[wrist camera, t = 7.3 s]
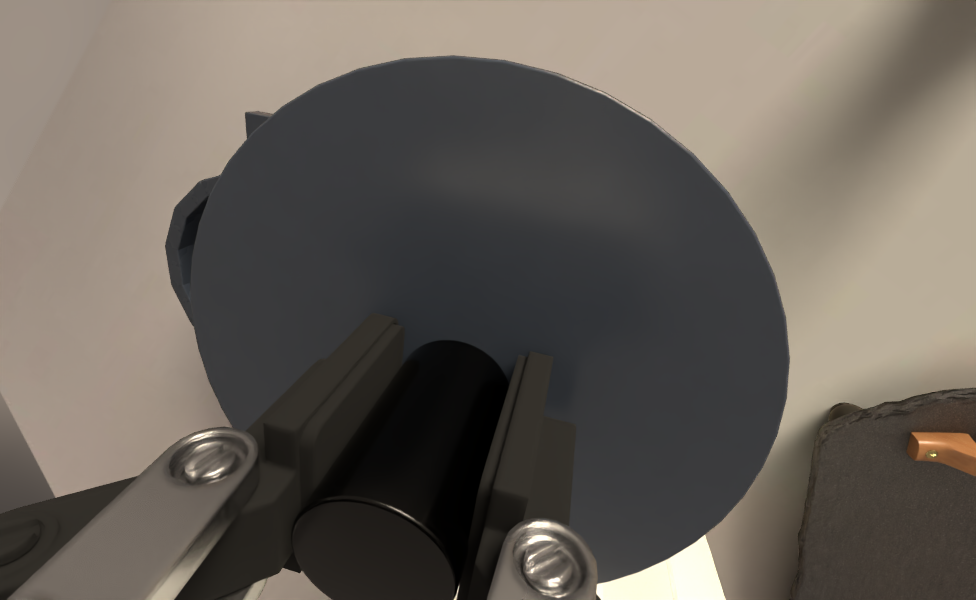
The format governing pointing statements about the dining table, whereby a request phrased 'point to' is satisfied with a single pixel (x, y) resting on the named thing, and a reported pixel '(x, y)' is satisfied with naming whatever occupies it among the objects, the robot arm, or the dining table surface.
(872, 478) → the serving tray
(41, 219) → the dining table surface
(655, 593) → the vase
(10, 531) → the robot arm
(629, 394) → the lid
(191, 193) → the pot
